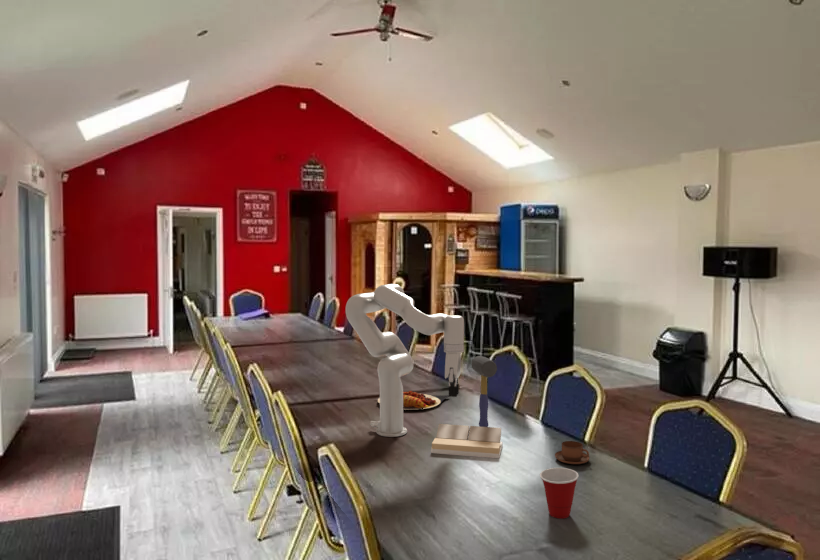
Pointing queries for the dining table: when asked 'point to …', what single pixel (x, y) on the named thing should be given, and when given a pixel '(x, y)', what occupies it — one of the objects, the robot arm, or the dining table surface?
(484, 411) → the rubber mallet
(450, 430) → the left plank
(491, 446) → the floor board
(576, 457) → the cup and saucer
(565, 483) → the plastic cup
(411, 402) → the omelette plate
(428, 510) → the dining table surface
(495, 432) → the right plank
